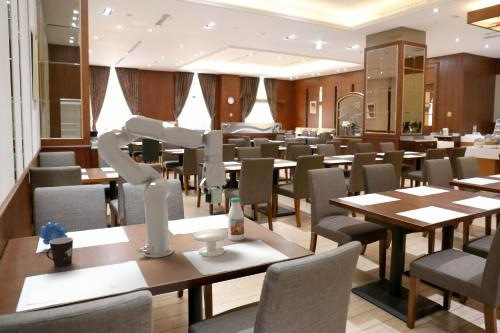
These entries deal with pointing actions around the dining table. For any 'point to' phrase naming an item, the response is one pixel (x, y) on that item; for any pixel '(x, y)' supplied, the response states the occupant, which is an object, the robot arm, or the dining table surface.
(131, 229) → the dining table surface
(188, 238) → the dining table surface
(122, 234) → the dining table surface
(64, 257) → the coffee mug
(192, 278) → the dining table surface
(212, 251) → the cake stand
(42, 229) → the grapes
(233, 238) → the milk bottle
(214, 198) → the block
